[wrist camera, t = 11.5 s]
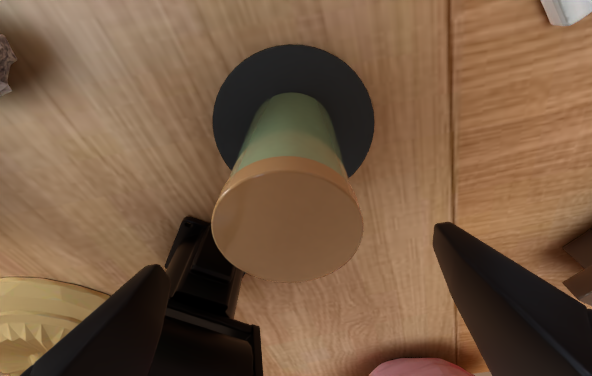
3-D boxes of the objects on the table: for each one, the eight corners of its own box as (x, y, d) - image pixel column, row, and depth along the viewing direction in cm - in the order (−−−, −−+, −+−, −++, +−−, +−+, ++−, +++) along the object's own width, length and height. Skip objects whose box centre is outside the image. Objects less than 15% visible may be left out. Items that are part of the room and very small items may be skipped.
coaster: (320, 215, 21) (321, 217, 21) (194, 161, 19) (192, 163, 18) (407, 99, 16) (409, 101, 16) (250, 4, 14) (250, 4, 13)
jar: (308, 183, 19) (315, 297, 12) (236, 150, 18) (191, 257, 10) (352, 117, 17) (396, 211, 9) (271, 72, 15) (245, 140, 8)
